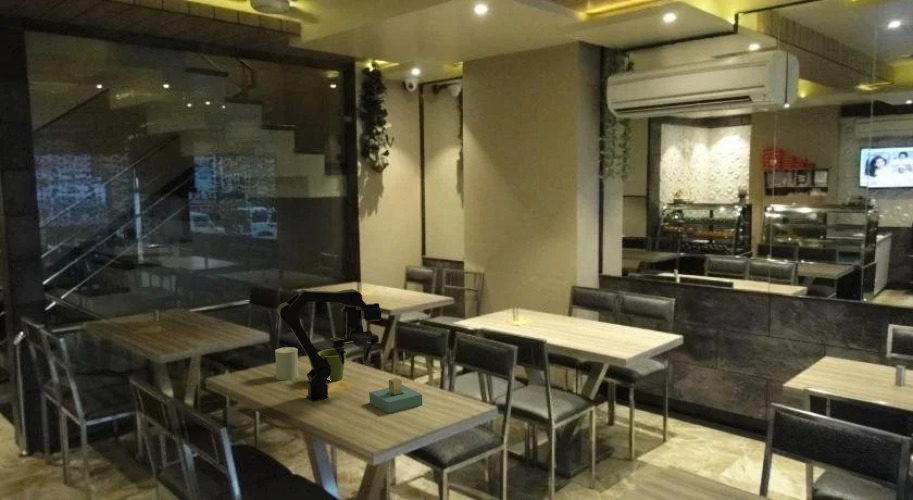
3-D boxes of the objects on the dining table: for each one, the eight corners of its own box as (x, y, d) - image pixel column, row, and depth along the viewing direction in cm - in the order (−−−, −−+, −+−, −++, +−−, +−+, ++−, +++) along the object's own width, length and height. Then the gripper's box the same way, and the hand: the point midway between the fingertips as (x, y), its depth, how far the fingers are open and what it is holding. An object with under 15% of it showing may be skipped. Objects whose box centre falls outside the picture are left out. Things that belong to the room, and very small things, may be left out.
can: (295, 380, 267) (294, 351, 266) (273, 380, 268) (271, 351, 266) (301, 373, 277) (300, 345, 275) (279, 373, 277) (278, 346, 275)
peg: (394, 406, 235) (393, 381, 234) (389, 403, 237) (388, 379, 236) (402, 404, 237) (401, 380, 236) (397, 401, 239) (396, 377, 238)
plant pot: (314, 378, 269) (313, 351, 268) (339, 373, 276) (339, 347, 275) (326, 385, 260) (325, 357, 259) (353, 379, 267) (352, 352, 266)
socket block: (388, 413, 227) (388, 402, 227) (369, 402, 239) (369, 392, 238) (422, 405, 235) (422, 394, 235) (402, 395, 247) (402, 384, 246)
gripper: (339, 329, 236) (339, 371, 238) (385, 323, 246) (385, 363, 248) (327, 323, 245) (328, 364, 247) (372, 318, 255) (372, 357, 257)
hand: (354, 362), depth 249 cm, fingers open, 9 cm apart
